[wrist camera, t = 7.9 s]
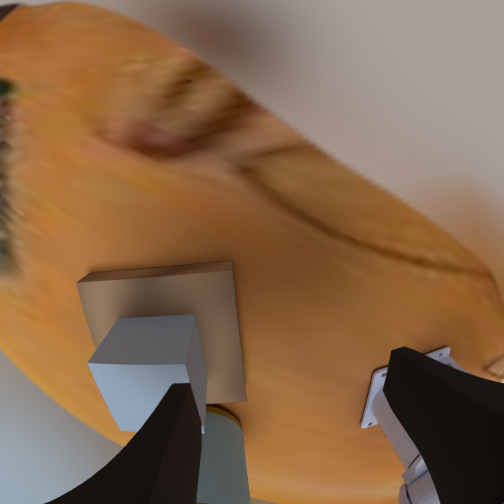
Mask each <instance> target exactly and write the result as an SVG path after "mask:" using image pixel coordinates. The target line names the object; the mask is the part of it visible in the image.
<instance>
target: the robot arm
mask: <svg viewBox="0 0 504 504" xmlns="http://www.w3.org/2000/svg"><path fill="white" fill-rule="evenodd" d="M449 353H450V348H449V347H448V346H447V347H444V348H442V349H439V350H437V351H434V352H431V353H429V354H426V355H424V354H422V353H420V352H417V351H415V350H413V349H410V348H407V347H405V346H404V347H401V348H398V349H394V350H391V355H390V360H389V365H388V367H386V368H383V369H380V370H377V371H375V372H374V374H373V377H372V381H371V386H370V390H369V394H368V398H367V402H366V406H365V410H364V414H363V417H362V421H361V424H360V426H361V427H362V428H367V427H370V426H373V425H376V424H379V425H380V427H381V429H382V430H383V432H384V434H385V435H386V437H387V439H388V440H389V442H390V444H391V445H392V447H393V449H394V450H395V452H396V454H397V455H398V457H399V459H400V461H401V462H402V464H403V466H404V467H405V469H406V472H404V473H403V474H402V475H401V476H402V478H403V479H404V481H405V483H404V484H402V485H401V487H400V490H399V496H398V501H399V504H504V383H500V382H495V381H491V380H487V379H484V378H480V377H477V376H474V375H471V374H469V373H468V372H467V371H466V370H464V369H463V368H462V367H461V366H460V365H459V364H458V363H457V362H455V361H454V360H453V359H452V358H451V357H450V356H449ZM201 451H202V421H201V418H200V415H199V412H198V408H197V405H196V401H195V398H194V394H193V391H192V387H191V384H190V383H173V384H172V385H171V386H170V387H169V389H168V390H167V392H166V393H165V395H164V396H163V398H162V399H161V401H160V402H159V404H158V405H157V407H156V408H155V409H154V411H153V412H152V414H151V415H150V416H149V418H148V419H147V420H146V422H145V423H144V424H143V426H142V427H141V428H140V429H139V431H138V432H137V433H136V434H135V435H134V436H133V438H132V439H131V440H130V441H129V442H128V443H127V445H126V446H125V447H124V448H123V449H122V450H121V451H120V452H119V453H118V454H117V455H116V456H115V457H114V458H113V459H112V460H111V461H110V462H109V463H108V464H106V466H104V467H103V468H102V469H101V470H99V471H98V472H97V473H96V474H94V475H93V476H92V477H90V478H89V479H88V480H86V481H85V482H83V483H82V484H80V485H79V486H77V487H76V488H74V489H72V490H71V491H69V492H67V493H66V494H64V495H62V496H60V497H58V498H56V499H54V500H52V501H50V502H47V503H45V504H196V503H197V489H198V479H199V470H200V460H201Z"/></svg>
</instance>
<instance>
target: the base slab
mask: <svg viewBox="0 0 504 504" xmlns="http://www.w3.org/2000/svg"><path fill="white" fill-rule="evenodd" d="M76 284H77V288H78V292H79V295H80V299H81V303H82V306H83V310H84V313H85V317H86V320H87V323H88V326H89V329H90V333H91V336H92V338H93V341H94V344H95V347H96V350H97V348H98V347H99V345H100V344H101V342H102V341H103V339H104V338H105V336H106V335H107V334H108V332H109V331H110V329H111V328H112V326H113V325H114V324H115V322H116V321H117V319H118V318H135V317H156V316H173V315H188V314H195V317H196V323H197V328H198V334H199V339H200V344H201V350H202V355H203V360H204V364H205V369H206V374H207V395H206V404H215V403H230V402H242V401H247V397H246V389H245V380H244V372H243V363H242V354H241V345H240V336H239V327H238V317H237V307H236V297H235V287H234V277H233V267H232V261H224V262H213V263H202V264H191V265H179V266H168V267H156V268H145V269H133V270H121V271H109V272H97V273H89V274H87V275H86V276H85V277H83V278H82V279H81V280H79V281H78V282H77V283H76Z"/></svg>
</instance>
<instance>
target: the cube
mask: <svg viewBox="0 0 504 504" xmlns="http://www.w3.org/2000/svg"><path fill="white" fill-rule="evenodd" d="M88 365H89V368H90V370H91V372H92V375H93V377H94V379H95V382H96V384H97V386H98V388H99V390H100V392H101V394H102V396H103V398H104V401H105V403H106V404H107V406H108V408H109V410H110V412H111V414H112V416H113V418H114V420H115V422H116V423H117V425H118V427H119V429H120V430H123V431H133V432H138V431H139V429H140V428H141V427H142V426H143V424H144V423H145V422H146V420H147V419H148V418H149V416H150V415H151V414H152V412H153V411H154V409H155V408H156V407H157V405H158V404H159V402H160V401H161V399H162V398H163V396H164V395H165V393H166V392H167V390H168V389H169V387H170V386H171V385H172V384H173V383H190V384H191V387H192V391H193V394H194V398H195V401H196V405H197V408H198V412H199V415H200V418H201V421H202V433H205V415H206V395H207V374H206V369H205V364H204V360H203V355H202V350H201V344H200V339H199V334H198V328H197V323H196V317H195V314H188V315H173V316H156V317H135V318H118V319H117V321H116V322H115V324H114V325H113V326H112V328H111V329H110V331H109V332H108V334H107V335H106V336H105V338H104V339H103V341H102V342H101V344H100V345H99V347H98V348H97V350H96V351H95V353H94V354H93V355H92V357H91V358H90V360H89V362H88Z"/></svg>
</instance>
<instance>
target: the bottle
mask: <svg viewBox="0 0 504 504" xmlns="http://www.w3.org/2000/svg"><path fill="white" fill-rule="evenodd" d="M196 504H251V502H250V494H249V485H248V476H247V467H246V458H245V449H244V439H243V432H242V426H241V424H240V423H239V422H238V420H237V419H236V418H235V417H233V416H232V415H230V414H229V413H227V412H226V411H224V410H221V409H219V408H216V407H213V406H207V405H206V415H205V433H202V451H201V460H200V470H199V479H198V489H197V503H196Z"/></svg>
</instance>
